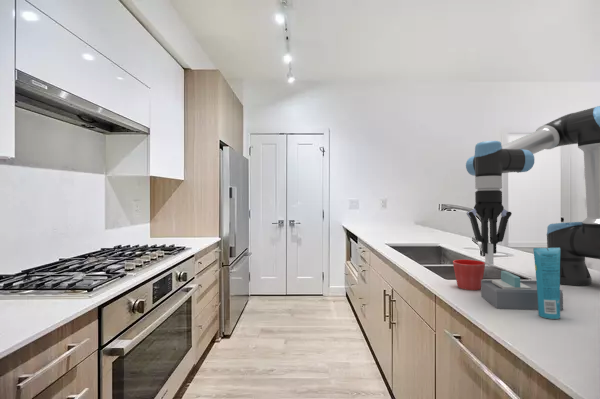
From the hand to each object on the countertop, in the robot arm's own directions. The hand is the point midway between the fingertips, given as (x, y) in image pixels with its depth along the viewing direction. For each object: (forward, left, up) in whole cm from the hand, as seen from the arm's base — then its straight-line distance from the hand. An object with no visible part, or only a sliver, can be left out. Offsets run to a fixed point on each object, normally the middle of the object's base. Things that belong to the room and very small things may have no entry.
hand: (489, 263), depth 109 cm
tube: (-11, +12, -13) cm, 21 cm away
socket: (-9, 0, -12) cm, 15 cm away
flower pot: (0, -19, -13) cm, 22 cm away
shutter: (-6, 0, -7) cm, 9 cm away
